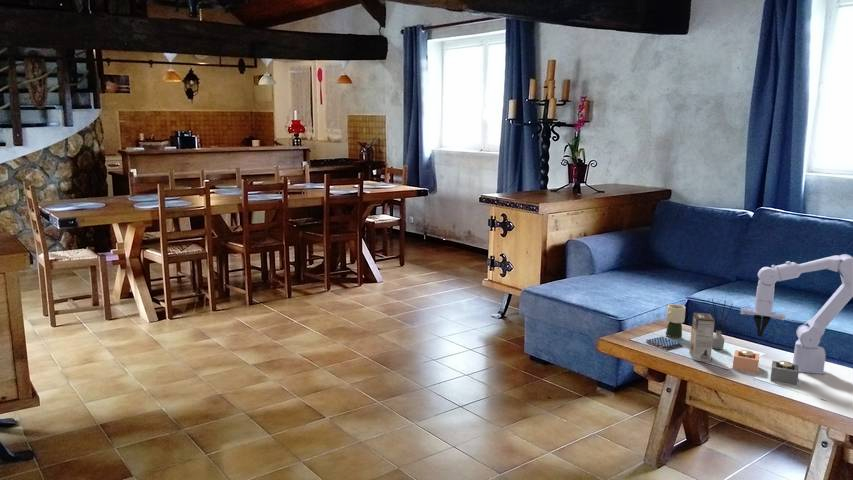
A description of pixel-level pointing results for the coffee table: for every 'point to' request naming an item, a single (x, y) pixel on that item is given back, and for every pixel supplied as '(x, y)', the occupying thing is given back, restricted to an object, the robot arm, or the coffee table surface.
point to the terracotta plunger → (746, 353)
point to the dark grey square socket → (784, 373)
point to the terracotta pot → (746, 362)
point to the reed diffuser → (718, 331)
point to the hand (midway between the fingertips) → (759, 335)
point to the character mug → (675, 320)
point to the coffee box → (701, 336)
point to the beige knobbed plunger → (785, 364)
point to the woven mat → (664, 343)
